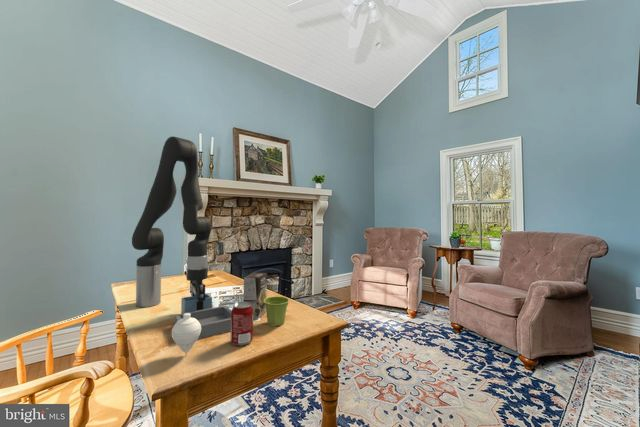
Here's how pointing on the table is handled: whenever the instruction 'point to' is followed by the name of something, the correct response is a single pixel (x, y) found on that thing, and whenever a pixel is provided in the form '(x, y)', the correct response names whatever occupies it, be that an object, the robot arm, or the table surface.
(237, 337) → the soda can
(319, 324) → the table surface
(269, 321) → the plant pot
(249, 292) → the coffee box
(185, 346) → the spinning top
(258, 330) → the table surface
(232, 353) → the table surface
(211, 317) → the grey shallow tray
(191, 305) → the small crate
